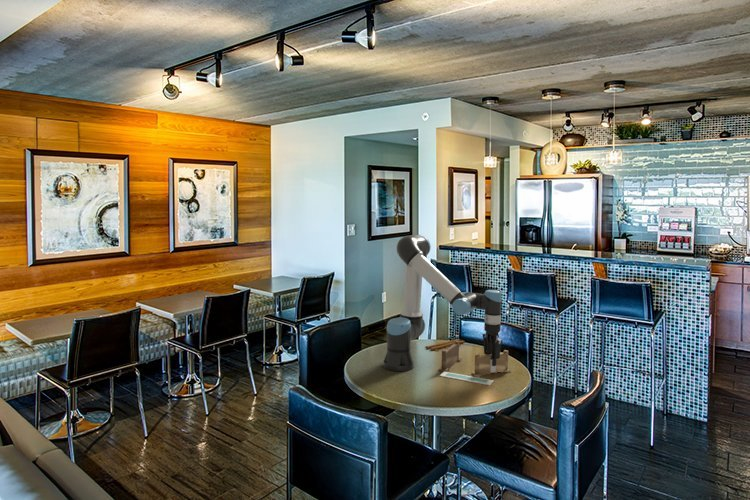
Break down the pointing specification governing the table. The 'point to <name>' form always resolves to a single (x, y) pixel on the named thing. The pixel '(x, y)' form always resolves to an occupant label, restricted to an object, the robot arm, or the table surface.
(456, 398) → the table surface
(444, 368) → the walnut fence panel
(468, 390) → the table surface
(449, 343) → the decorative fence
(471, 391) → the table surface
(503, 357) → the oak fence segment
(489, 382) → the strip
